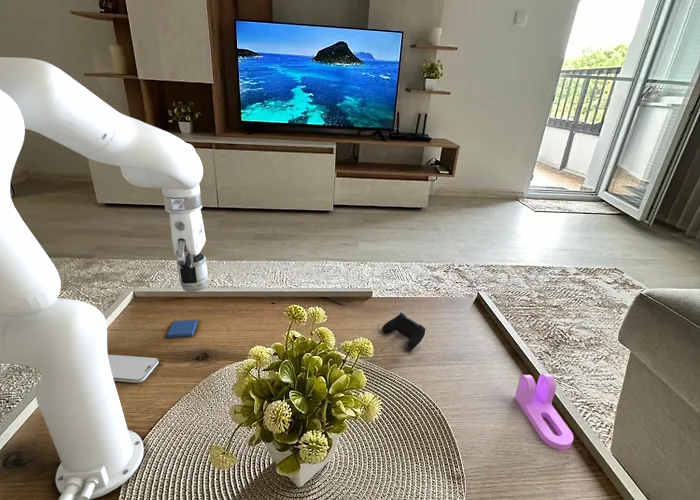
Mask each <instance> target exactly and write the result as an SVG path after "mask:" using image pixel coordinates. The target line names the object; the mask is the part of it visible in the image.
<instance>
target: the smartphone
mask: <svg viewBox="0 0 700 500" xmlns="http://www.w3.org/2000/svg"><path fill="white" fill-rule="evenodd" d="M108 359H109V364H110V368H111V372H112V376H113V380H114V382H123V383H134V384H135V383H136V384H138V383H139V384H140V383H143V382H144V381H145V380H146V379H147V378H148V376H150V374H151V373H152V372H153V371H154V370H155V368H156V367H157V366H158V364H159V363H160V362H159V358H157V357H149V356H148V357H147V356H136V355H135V356H134V355H124V354H123V355H122V354H110V353H108Z"/></svg>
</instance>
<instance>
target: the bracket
mask: <svg viewBox="0 0 700 500" xmlns="http://www.w3.org/2000/svg"><path fill="white" fill-rule="evenodd" d="M556 391H557V383H556V380H555V377H554V375H552V374H550V373H541V374H540V375H539V376H538V379H537V383H536V380H535V379H534V377H533V376H532V375H531V374H522V375H520V376H519V379H518V383H517V386H516V390H515V393H514V394H515V395H514V398H515V400H516V402H517V403H518V405H519V406H520V408H521V410H522V411H523V413H524V415H525V416H526V417H527V419H528V421H529V422H530V424H531V425H532V426H533V428H534V430H535V431H536V433H537V434H538V436H539V438H540V439H541V440H542V442H543V443H544V444H546V445H547V446H548V447H549V448H552V449H555V450H558V451H567V450H569V449H570V448H571V447H572V444H573V442H574V434H573V432H572V430H571V429H570V427H569V426H568V424H567V423H566V422H565V421H564V420H563V418H562V417H561V415H560V413H559V412H558V411H557V410H556V409H555V407H554V406H553V404H552V403H553V400H554V396H555V393H556ZM544 419H546V420H547V421H548V422H549V424H550V425H551V427H552V428H553V430H554V431H555V433H556V434H554V432H553V431H552V430H551V428H550V426H549V425H548V424H547V423H546V421H545V420H544Z"/></svg>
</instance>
